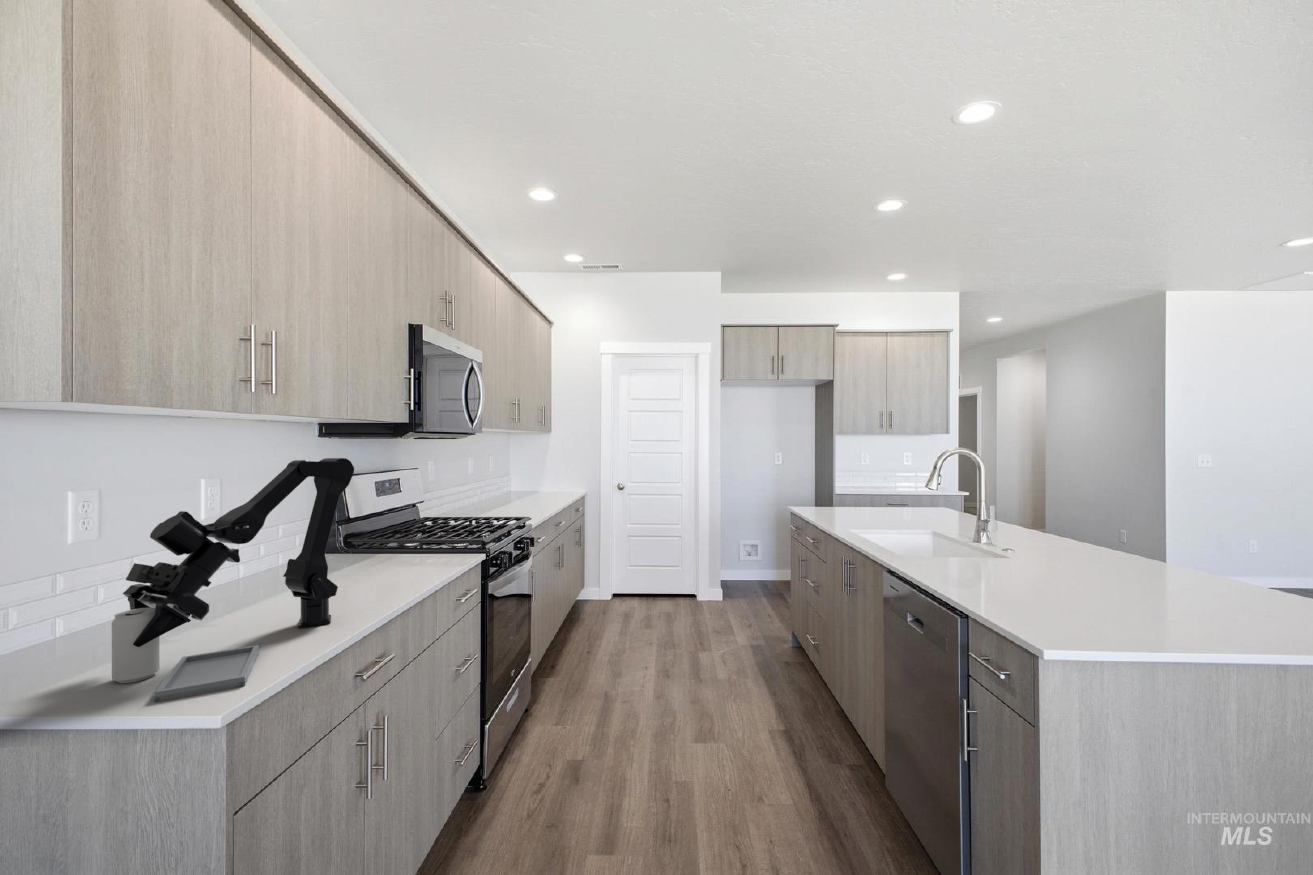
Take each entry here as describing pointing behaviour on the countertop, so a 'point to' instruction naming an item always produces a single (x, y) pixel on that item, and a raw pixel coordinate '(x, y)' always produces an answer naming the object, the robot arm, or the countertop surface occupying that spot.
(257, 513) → the robot arm
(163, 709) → the countertop surface
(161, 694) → the tray
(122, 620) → the beverage can
